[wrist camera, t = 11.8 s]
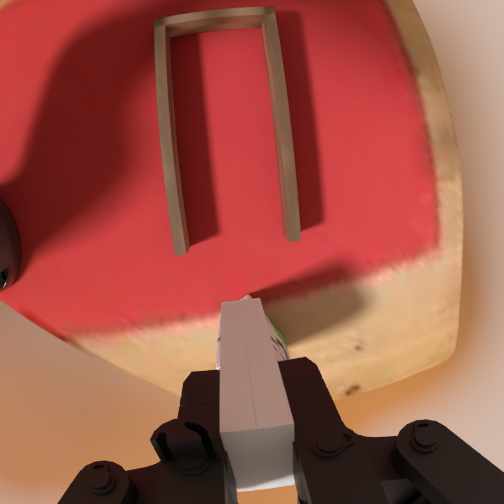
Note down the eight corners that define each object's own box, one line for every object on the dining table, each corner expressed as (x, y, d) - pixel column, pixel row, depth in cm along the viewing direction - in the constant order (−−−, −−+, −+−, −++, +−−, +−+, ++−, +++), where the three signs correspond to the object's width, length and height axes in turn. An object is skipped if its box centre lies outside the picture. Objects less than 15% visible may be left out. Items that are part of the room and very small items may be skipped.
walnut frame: (180, 247, 35) (175, 255, 31) (160, 31, 28) (154, 19, 24) (294, 234, 35) (301, 240, 32) (270, 19, 28) (273, 6, 25)
